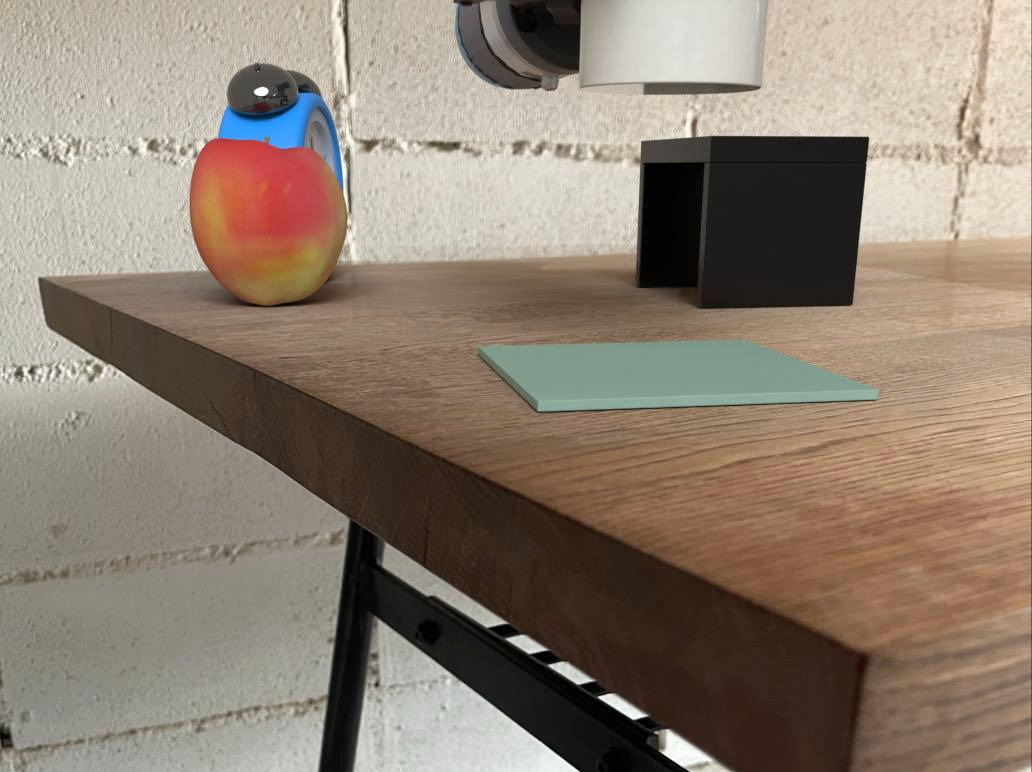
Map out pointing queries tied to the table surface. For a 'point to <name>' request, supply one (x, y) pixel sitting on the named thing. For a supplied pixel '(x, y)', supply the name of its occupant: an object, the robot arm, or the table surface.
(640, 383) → the mat
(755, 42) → the cup
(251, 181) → the apple
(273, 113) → the alarm clock
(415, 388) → the table surface
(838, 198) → the shelf
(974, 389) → the table surface
